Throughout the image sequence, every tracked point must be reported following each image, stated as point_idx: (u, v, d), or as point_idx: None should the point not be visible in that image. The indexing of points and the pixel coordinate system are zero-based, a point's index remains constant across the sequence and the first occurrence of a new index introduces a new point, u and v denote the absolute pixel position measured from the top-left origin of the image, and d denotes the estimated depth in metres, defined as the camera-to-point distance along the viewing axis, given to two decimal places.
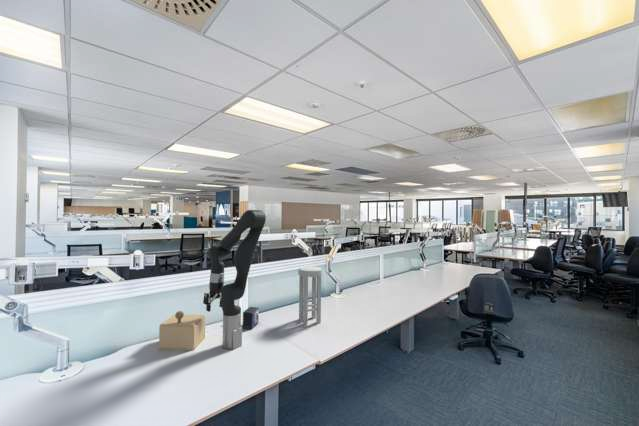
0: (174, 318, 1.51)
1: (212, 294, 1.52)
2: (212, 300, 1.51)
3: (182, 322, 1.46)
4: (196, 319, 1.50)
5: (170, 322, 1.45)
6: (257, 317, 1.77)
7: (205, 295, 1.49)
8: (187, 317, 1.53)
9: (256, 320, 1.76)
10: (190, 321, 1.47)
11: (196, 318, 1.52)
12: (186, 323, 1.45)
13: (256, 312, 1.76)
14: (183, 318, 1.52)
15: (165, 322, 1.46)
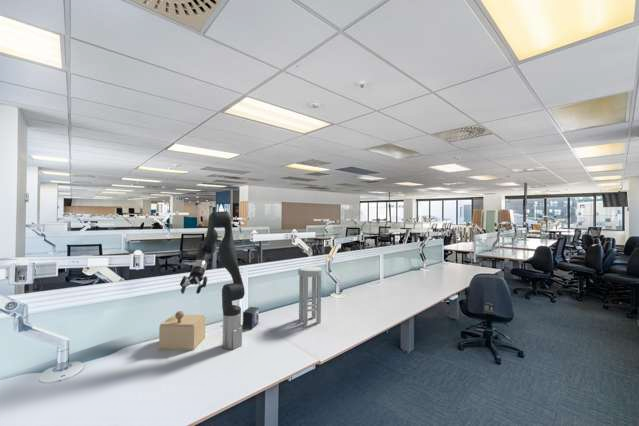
0: (174, 318, 1.51)
1: (189, 277, 1.63)
2: (186, 281, 1.61)
3: (182, 322, 1.46)
4: (196, 319, 1.50)
5: (170, 322, 1.45)
6: (257, 317, 1.77)
7: None
8: (187, 317, 1.53)
9: (256, 320, 1.76)
10: (190, 321, 1.47)
11: (196, 318, 1.52)
12: (186, 323, 1.45)
13: (256, 312, 1.76)
14: (183, 318, 1.52)
15: (165, 322, 1.46)
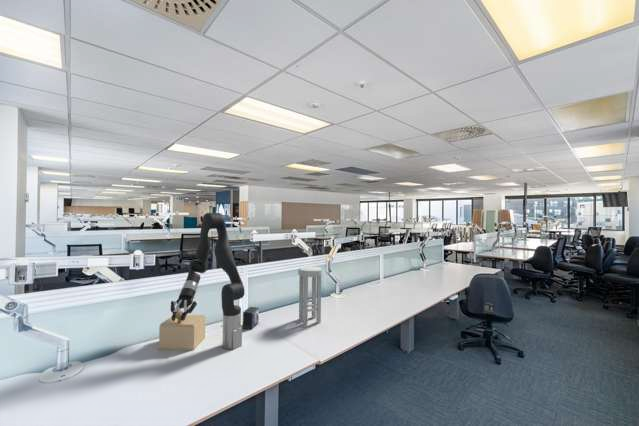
0: None
1: (177, 302, 1.50)
2: (176, 306, 1.47)
3: (182, 322, 1.46)
4: (196, 319, 1.50)
5: (170, 322, 1.45)
6: (257, 317, 1.77)
7: None
8: (187, 317, 1.53)
9: (256, 320, 1.76)
10: (190, 321, 1.47)
11: (196, 318, 1.52)
12: (186, 323, 1.45)
13: (256, 312, 1.76)
14: None
15: (165, 322, 1.46)
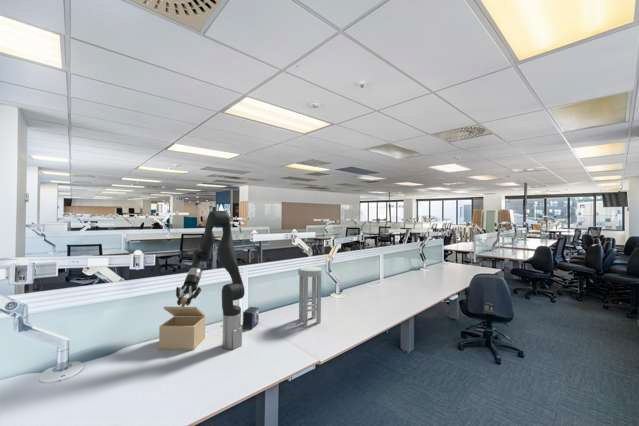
0: None
1: (182, 288, 1.55)
2: (181, 292, 1.53)
3: None
4: None
5: None
6: (257, 317, 1.77)
7: None
8: None
9: (256, 321, 1.76)
10: None
11: None
12: None
13: (256, 312, 1.76)
14: None
15: None
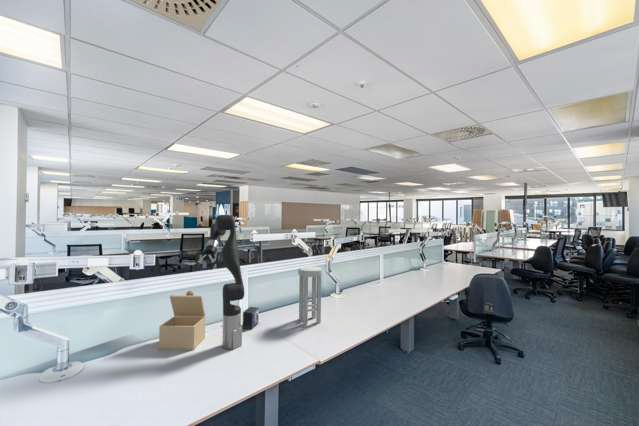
0: None
1: (202, 255, 1.77)
2: (200, 258, 1.74)
3: None
4: None
5: None
6: (257, 317, 1.77)
7: None
8: None
9: (256, 320, 1.76)
10: None
11: None
12: None
13: (256, 312, 1.76)
14: None
15: None
